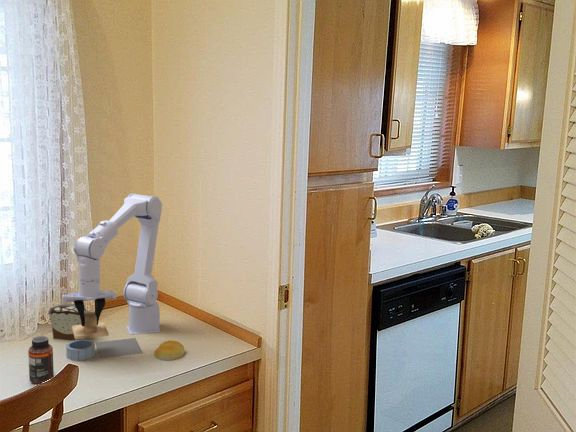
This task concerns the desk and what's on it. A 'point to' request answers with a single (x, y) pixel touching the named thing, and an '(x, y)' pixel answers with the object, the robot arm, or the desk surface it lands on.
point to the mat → (118, 348)
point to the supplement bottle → (40, 360)
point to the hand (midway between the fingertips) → (89, 324)
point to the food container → (64, 321)
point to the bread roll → (169, 350)
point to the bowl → (80, 350)
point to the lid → (89, 327)
